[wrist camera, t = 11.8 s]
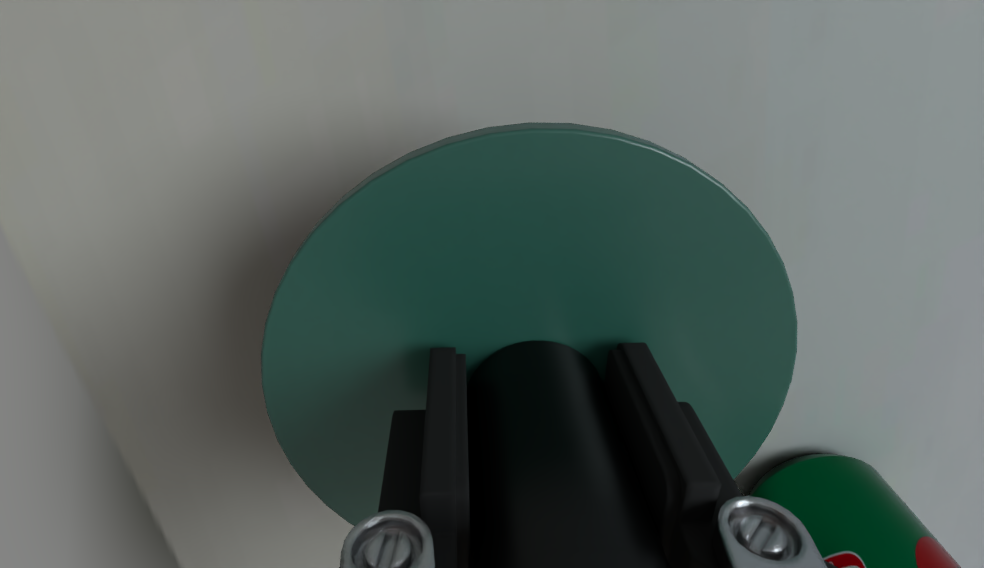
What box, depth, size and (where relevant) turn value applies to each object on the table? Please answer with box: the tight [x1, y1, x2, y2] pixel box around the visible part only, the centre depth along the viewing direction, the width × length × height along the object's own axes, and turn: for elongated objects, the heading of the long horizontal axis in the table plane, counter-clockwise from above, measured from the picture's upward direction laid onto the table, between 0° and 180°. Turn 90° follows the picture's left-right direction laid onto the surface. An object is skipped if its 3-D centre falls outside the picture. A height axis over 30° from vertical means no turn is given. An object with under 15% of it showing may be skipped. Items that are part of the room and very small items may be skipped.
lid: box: [261, 123, 797, 568], centre depth 11 cm, size 12×12×7 cm
